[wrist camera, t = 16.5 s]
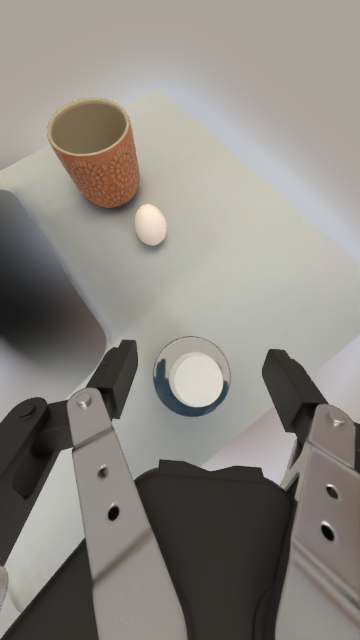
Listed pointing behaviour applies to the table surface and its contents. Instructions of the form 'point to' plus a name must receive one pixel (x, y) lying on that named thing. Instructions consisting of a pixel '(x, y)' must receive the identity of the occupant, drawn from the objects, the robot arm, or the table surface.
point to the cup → (168, 359)
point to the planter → (96, 150)
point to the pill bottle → (196, 379)
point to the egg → (150, 225)
